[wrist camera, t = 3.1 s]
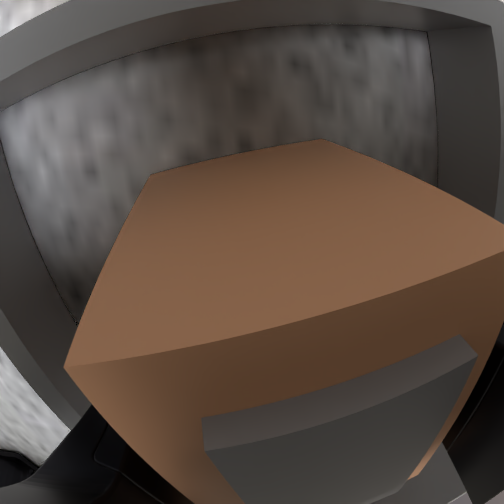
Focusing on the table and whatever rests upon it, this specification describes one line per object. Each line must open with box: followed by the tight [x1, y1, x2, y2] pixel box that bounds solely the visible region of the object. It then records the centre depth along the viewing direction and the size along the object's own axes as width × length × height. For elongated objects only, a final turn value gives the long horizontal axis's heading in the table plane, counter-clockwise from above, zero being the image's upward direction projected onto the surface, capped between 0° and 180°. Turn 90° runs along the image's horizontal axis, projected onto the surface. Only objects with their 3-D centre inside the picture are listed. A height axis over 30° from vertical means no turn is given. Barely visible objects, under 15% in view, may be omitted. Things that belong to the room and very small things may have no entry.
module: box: [64, 139, 504, 504], centre depth 7 cm, size 5×7×7 cm
